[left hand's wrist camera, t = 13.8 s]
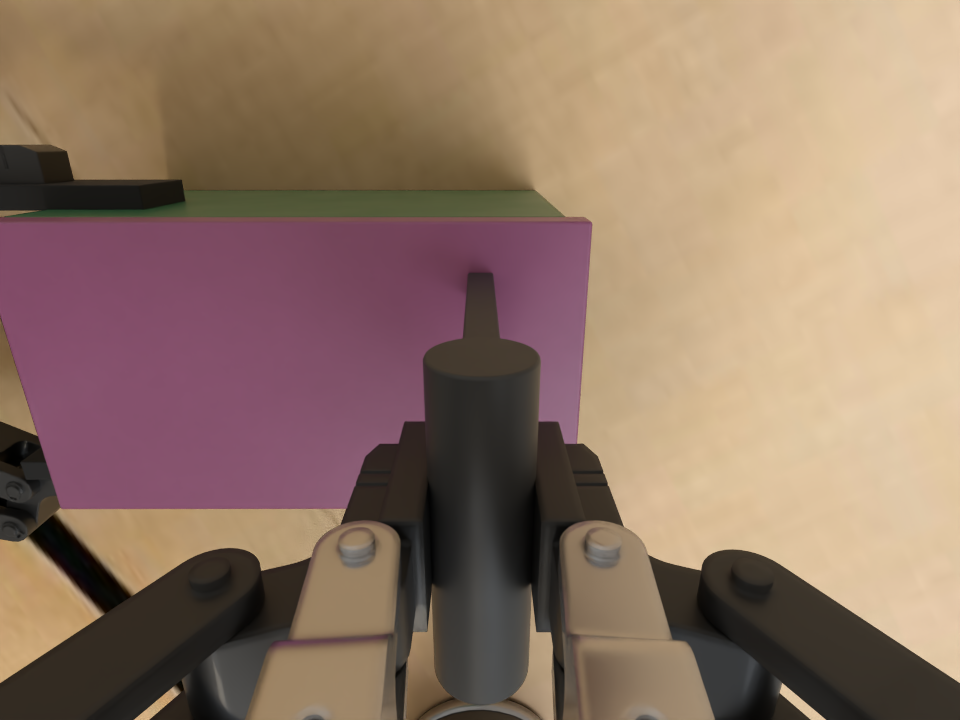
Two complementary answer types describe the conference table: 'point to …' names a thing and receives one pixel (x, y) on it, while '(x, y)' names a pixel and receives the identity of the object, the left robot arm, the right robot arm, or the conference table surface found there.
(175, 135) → the conference table surface
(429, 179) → the conference table surface
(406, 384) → the lid
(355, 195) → the chest
